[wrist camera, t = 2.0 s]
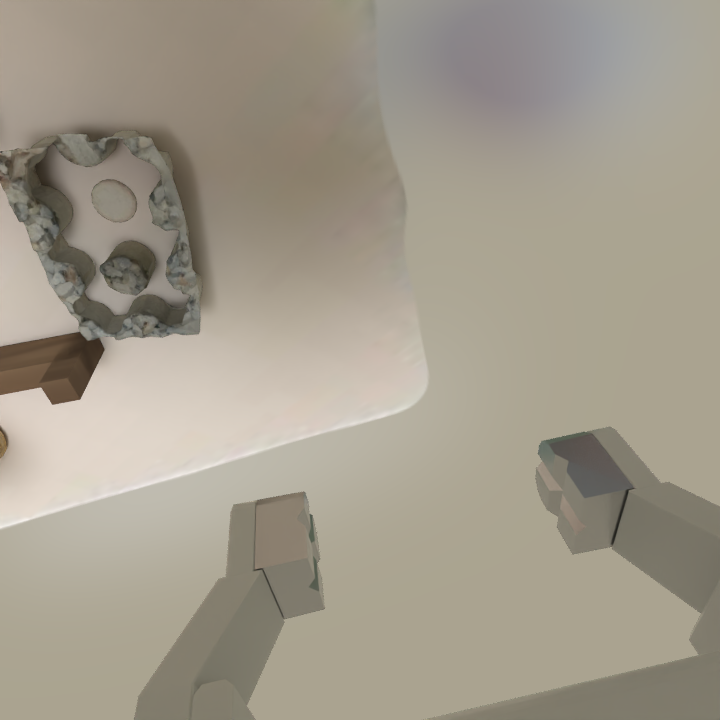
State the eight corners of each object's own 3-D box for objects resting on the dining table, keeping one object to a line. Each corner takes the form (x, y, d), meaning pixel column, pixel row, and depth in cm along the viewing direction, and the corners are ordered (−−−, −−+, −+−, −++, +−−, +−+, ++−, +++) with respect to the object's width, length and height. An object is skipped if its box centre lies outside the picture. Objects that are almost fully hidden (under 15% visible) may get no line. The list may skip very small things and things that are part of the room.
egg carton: (19, 126, 24) (-22, 143, 21) (178, 125, 25) (164, 140, 22) (84, 318, 30) (61, 355, 27) (211, 310, 31) (204, 345, 28)
